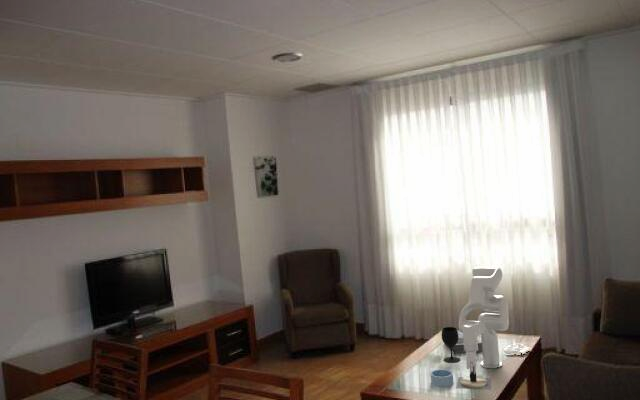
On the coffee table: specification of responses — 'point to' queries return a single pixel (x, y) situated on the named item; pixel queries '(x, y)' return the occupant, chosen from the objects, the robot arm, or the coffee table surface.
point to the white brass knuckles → (516, 348)
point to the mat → (487, 387)
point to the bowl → (442, 378)
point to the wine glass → (450, 342)
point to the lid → (473, 382)
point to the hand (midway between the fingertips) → (473, 379)
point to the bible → (460, 345)
